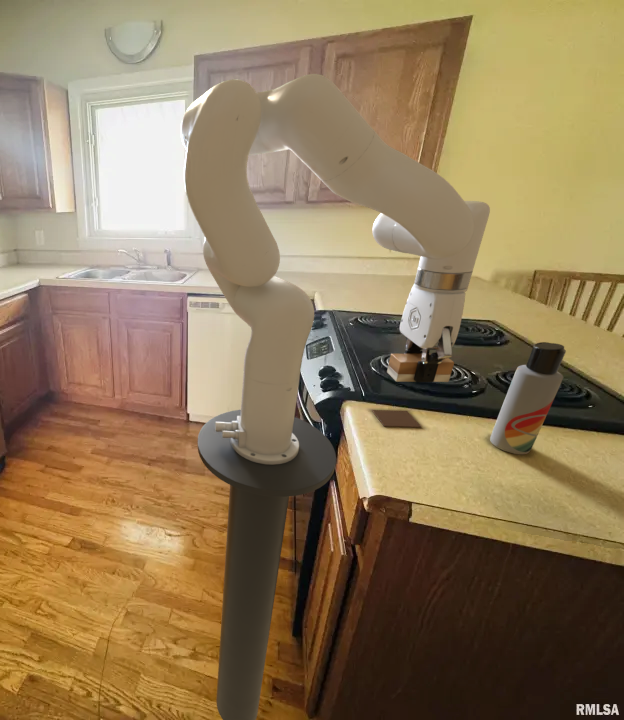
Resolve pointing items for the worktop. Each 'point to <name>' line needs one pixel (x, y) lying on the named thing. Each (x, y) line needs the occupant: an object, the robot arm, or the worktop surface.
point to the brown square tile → (396, 418)
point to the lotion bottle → (529, 399)
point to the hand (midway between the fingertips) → (416, 374)
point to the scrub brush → (406, 364)
